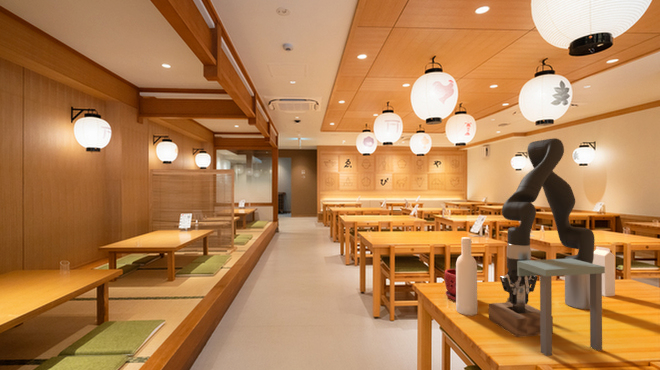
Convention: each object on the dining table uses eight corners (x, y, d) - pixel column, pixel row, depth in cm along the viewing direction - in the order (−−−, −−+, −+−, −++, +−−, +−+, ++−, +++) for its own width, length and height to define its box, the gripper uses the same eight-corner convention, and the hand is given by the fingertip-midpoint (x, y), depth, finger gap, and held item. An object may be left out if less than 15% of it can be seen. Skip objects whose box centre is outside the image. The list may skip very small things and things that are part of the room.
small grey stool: (571, 333, 105) (571, 258, 105) (605, 350, 94) (604, 266, 94) (517, 338, 102) (517, 260, 102) (546, 356, 91) (545, 269, 91)
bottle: (476, 317, 118) (475, 240, 118) (454, 312, 122) (454, 238, 123) (478, 310, 125) (478, 237, 125) (457, 306, 129) (457, 235, 129)
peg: (519, 309, 113) (519, 282, 113) (528, 314, 109) (528, 286, 109) (509, 310, 112) (509, 283, 112) (518, 314, 108) (518, 286, 108)
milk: (601, 291, 147) (601, 245, 148) (615, 295, 141) (615, 248, 142) (591, 292, 146) (591, 246, 146) (605, 296, 140) (605, 248, 140)
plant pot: (466, 306, 129) (466, 278, 129) (439, 297, 140) (438, 271, 140) (481, 299, 137) (481, 272, 137) (454, 291, 148) (454, 266, 148)
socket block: (521, 316, 119) (521, 301, 119) (552, 333, 105) (552, 316, 105) (488, 319, 116) (488, 303, 116) (516, 337, 103) (516, 319, 103)
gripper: (527, 253, 116) (527, 298, 116) (494, 254, 113) (494, 300, 113) (544, 258, 108) (544, 306, 108) (508, 259, 106) (509, 308, 106)
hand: (518, 303), depth 111 cm, fingers closed on peg, 4 cm apart
